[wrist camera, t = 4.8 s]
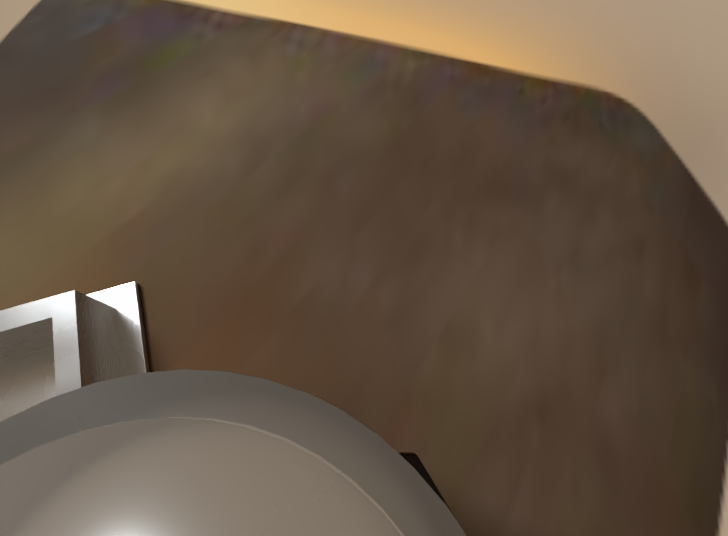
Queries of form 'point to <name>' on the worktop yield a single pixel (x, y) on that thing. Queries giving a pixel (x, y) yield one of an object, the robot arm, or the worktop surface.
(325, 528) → the lidded steel tumbler
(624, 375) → the worktop surface
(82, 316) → the collar
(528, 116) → the worktop surface
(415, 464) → the robot arm
